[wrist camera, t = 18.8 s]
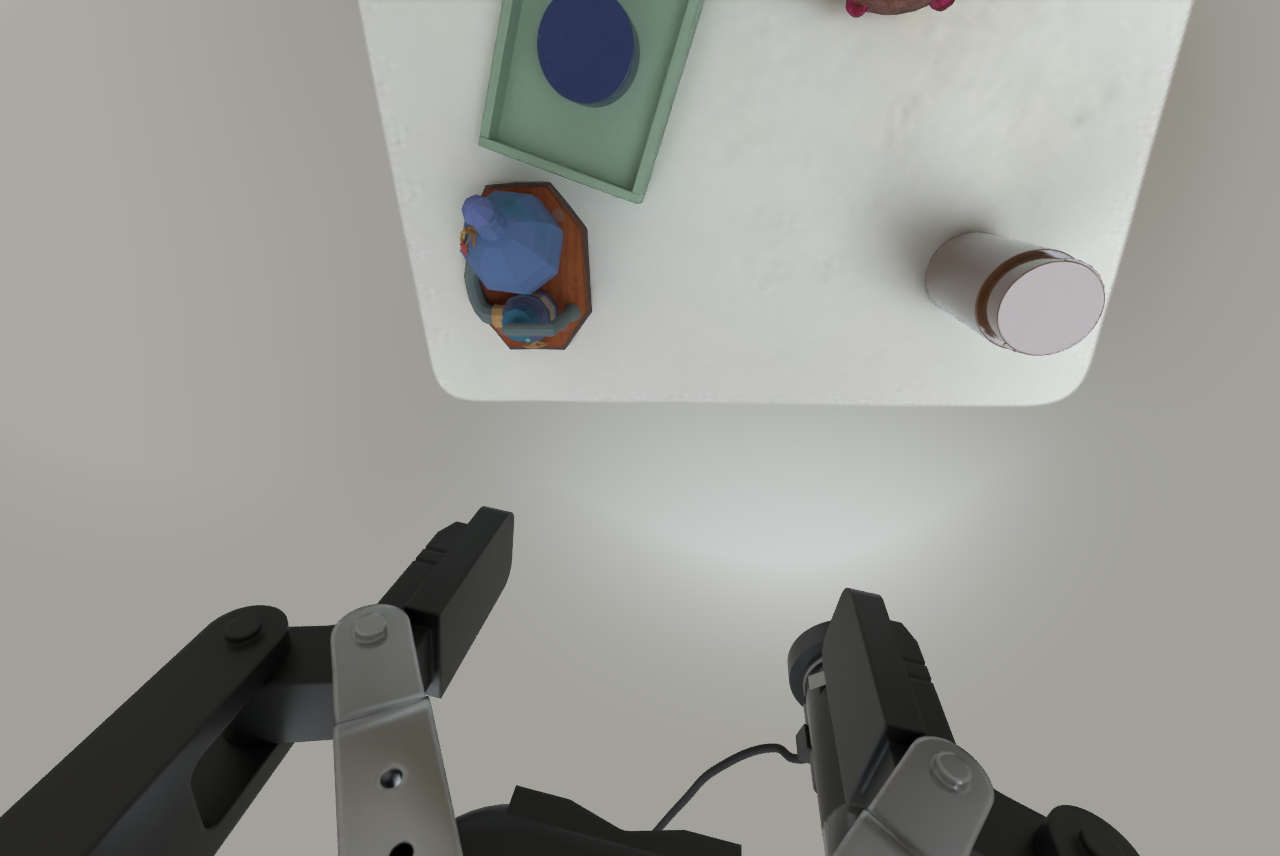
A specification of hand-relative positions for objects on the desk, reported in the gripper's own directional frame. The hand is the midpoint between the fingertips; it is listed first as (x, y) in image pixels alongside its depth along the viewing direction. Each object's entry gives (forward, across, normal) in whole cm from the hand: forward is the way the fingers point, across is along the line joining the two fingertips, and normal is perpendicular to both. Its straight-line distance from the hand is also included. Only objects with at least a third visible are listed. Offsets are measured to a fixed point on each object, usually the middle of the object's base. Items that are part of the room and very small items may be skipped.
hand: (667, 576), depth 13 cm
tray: (+30, +11, -14) cm, 35 cm away
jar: (+30, -16, -5) cm, 34 cm away
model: (+30, +14, 0) cm, 33 cm away
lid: (+28, +11, -14) cm, 33 cm away
